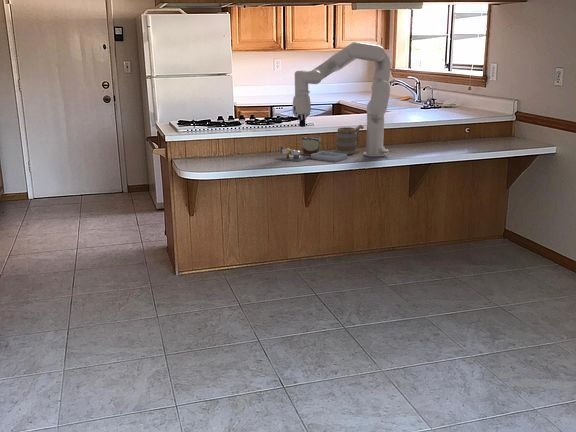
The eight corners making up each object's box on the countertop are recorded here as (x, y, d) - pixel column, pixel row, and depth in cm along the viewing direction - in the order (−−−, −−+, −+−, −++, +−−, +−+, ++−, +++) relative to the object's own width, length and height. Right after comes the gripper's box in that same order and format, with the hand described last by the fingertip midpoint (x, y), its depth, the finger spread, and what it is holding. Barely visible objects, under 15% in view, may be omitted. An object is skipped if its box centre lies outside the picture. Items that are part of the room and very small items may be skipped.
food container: (324, 154, 349) (324, 136, 346) (319, 155, 344) (319, 138, 341) (306, 152, 355) (306, 135, 352) (300, 153, 350) (300, 136, 347)
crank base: (311, 158, 335) (311, 147, 334) (299, 161, 326) (298, 150, 325) (293, 156, 343) (293, 145, 341) (280, 159, 334) (280, 148, 332)
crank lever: (301, 156, 335) (301, 148, 333) (298, 157, 331) (298, 149, 330) (282, 154, 341) (282, 146, 340) (278, 155, 338) (278, 147, 337)
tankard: (345, 155, 345) (345, 128, 341) (331, 152, 355) (331, 126, 351) (370, 151, 356) (371, 125, 352) (356, 148, 366) (356, 123, 362)
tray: (347, 158, 334) (347, 154, 333) (335, 161, 325) (335, 157, 325) (322, 155, 344) (322, 151, 343) (310, 158, 335) (310, 154, 334)
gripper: (308, 92, 343) (308, 124, 348) (286, 94, 334) (287, 127, 339) (316, 92, 337) (316, 125, 342) (295, 94, 328) (295, 128, 334)
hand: (302, 126), depth 341 cm, fingers closed
